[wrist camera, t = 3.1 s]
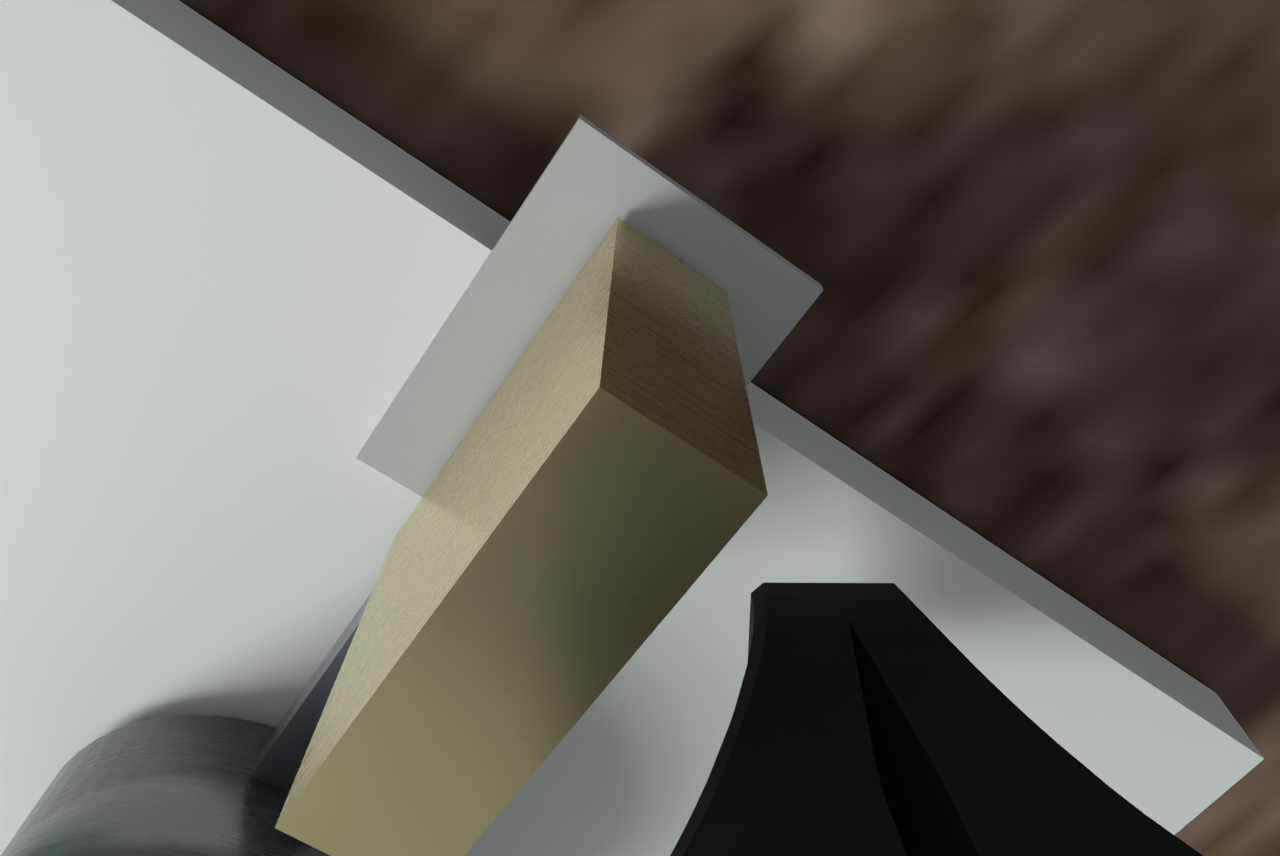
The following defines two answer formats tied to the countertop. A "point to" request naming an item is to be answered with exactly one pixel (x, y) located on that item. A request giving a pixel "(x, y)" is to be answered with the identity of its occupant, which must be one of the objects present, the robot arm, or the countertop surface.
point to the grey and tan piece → (471, 601)
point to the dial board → (405, 436)
